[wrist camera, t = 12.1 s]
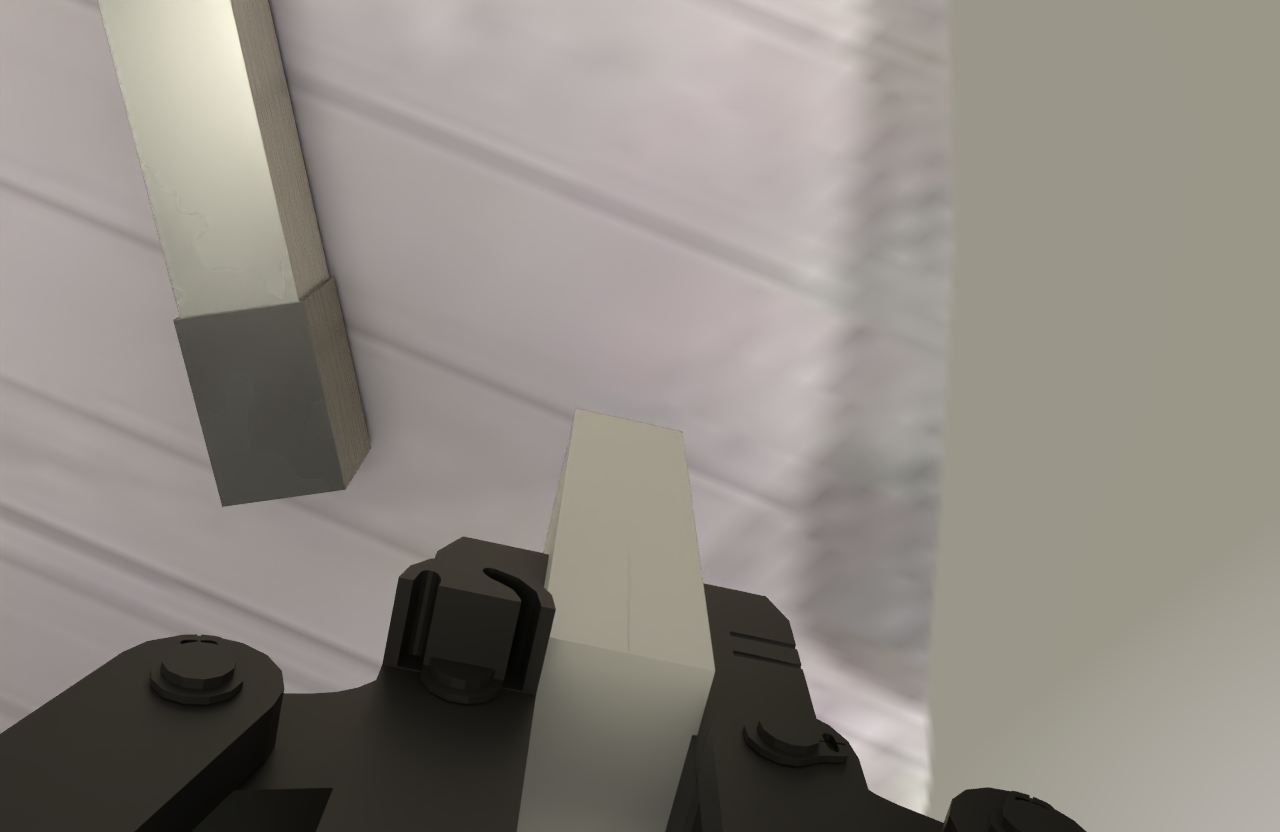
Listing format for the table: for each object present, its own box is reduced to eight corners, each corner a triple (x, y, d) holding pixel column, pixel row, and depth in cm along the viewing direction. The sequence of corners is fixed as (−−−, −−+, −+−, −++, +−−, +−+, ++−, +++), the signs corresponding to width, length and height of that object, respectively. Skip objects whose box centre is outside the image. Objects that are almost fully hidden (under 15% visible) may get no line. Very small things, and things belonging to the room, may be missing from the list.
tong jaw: (49, -383, 22) (-80, -481, 18) (184, -404, 22) (86, -509, 18) (259, 463, 27) (196, 536, 23) (371, 447, 27) (327, 518, 23)
